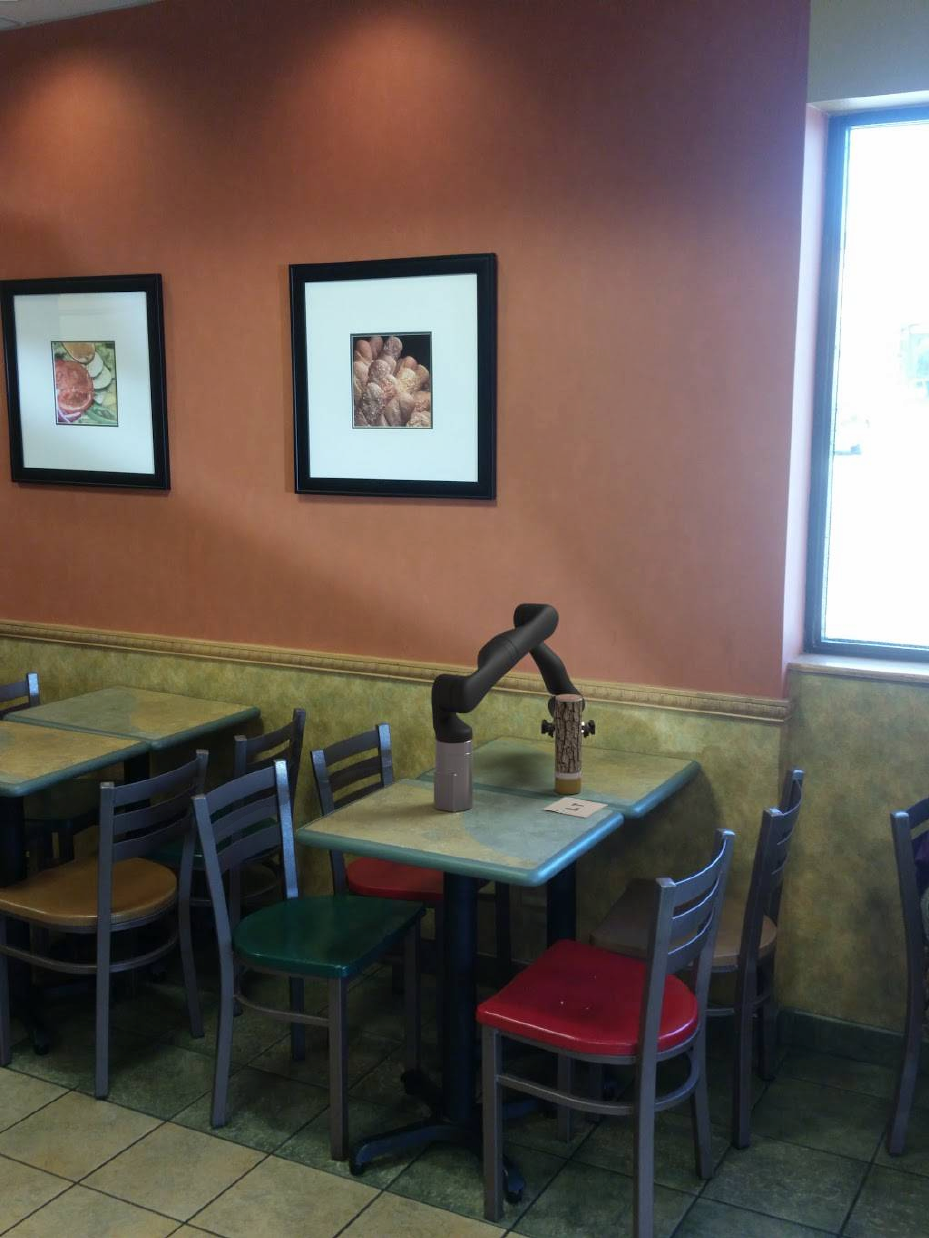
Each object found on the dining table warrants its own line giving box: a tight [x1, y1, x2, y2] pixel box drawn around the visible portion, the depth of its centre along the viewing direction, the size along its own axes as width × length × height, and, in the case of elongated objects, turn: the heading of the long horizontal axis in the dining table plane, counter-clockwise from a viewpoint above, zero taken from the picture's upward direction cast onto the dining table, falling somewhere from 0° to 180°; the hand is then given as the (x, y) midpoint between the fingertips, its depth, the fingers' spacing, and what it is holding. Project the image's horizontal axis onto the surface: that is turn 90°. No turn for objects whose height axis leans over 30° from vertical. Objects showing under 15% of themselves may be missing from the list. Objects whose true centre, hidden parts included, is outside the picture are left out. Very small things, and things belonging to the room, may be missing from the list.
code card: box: [541, 796, 609, 819], centre depth 305 cm, size 12×12×1 cm
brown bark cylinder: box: [554, 694, 583, 795], centre depth 316 cm, size 7×7×25 cm
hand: (568, 734), depth 319 cm, fingers open, 8 cm apart
